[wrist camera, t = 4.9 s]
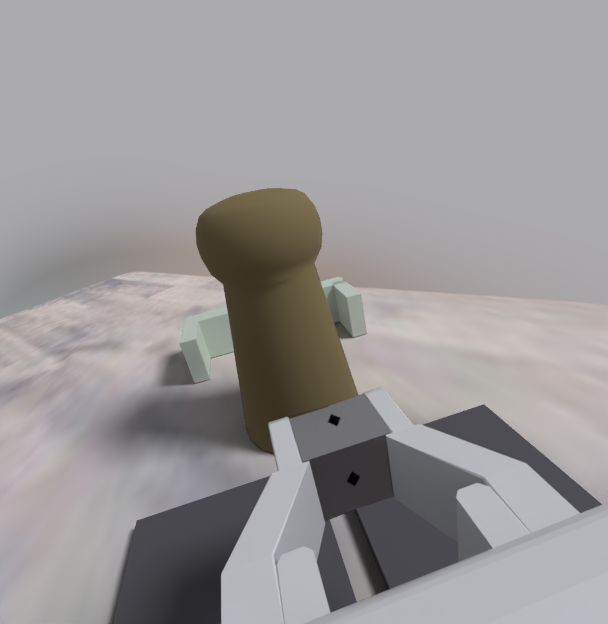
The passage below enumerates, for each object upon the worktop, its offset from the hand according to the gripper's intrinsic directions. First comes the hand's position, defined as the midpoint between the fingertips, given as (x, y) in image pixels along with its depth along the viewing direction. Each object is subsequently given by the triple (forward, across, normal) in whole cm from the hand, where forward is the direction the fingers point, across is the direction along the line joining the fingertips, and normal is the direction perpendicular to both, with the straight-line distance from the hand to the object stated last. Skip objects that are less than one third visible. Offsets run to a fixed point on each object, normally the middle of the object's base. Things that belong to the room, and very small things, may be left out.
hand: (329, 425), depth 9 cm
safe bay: (+16, 0, +6) cm, 17 cm away
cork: (+8, 0, +6) cm, 10 cm away
